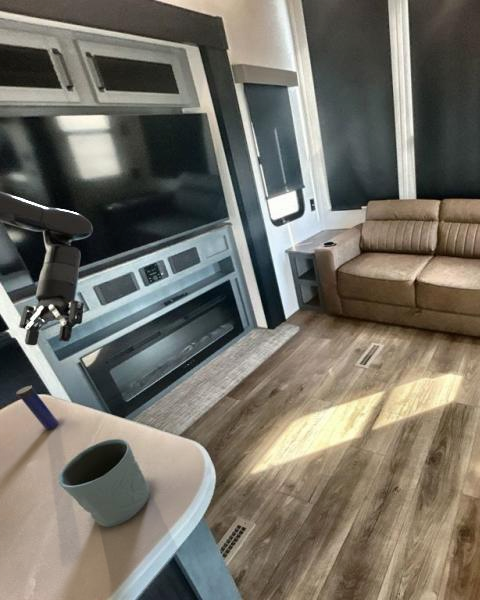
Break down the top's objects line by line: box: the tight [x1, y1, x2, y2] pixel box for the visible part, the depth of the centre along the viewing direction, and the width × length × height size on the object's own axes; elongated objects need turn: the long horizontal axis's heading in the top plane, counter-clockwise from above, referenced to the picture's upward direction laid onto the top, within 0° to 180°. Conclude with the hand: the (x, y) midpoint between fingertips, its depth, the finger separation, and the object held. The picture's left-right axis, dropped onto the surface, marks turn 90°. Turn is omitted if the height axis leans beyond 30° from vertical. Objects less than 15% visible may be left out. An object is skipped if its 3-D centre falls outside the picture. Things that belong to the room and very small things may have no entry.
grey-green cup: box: [58, 438, 151, 528], centre depth 66 cm, size 10×10×12 cm
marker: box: [16, 385, 60, 431], centre depth 88 cm, size 3×3×12 cm
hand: (47, 343), depth 92 cm, fingers open, 8 cm apart
